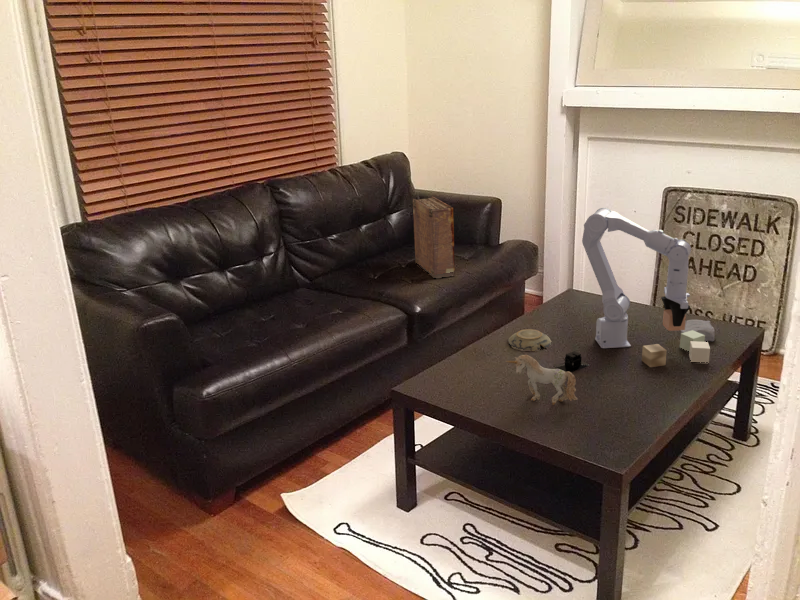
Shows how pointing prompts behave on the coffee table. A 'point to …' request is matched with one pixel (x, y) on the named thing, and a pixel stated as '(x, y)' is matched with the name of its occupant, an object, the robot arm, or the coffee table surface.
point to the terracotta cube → (671, 321)
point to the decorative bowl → (529, 340)
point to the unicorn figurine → (546, 378)
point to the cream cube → (699, 351)
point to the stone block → (700, 328)
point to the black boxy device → (572, 362)
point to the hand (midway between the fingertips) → (673, 322)
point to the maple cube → (654, 355)
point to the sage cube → (690, 339)
